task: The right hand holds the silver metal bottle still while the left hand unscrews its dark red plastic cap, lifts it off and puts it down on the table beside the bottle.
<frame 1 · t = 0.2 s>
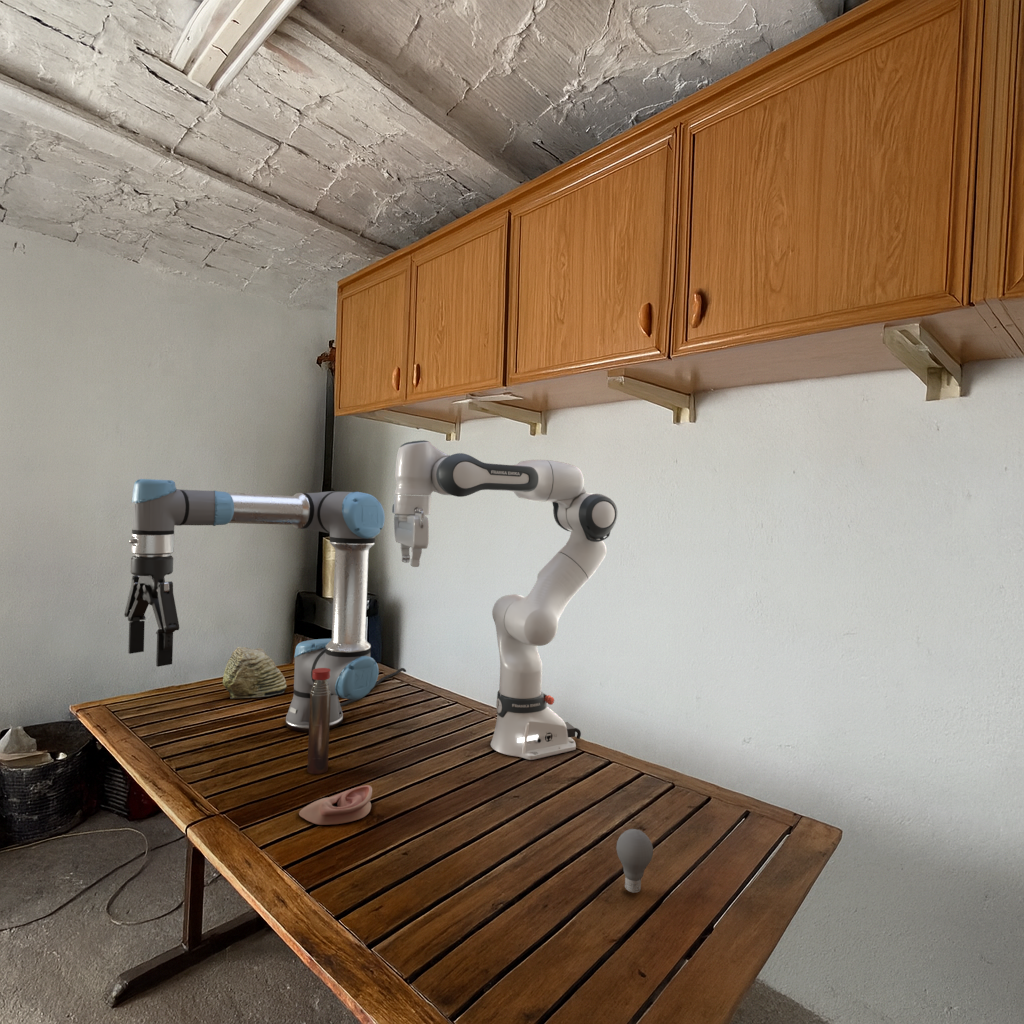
left hand: (149, 658, 129), 29 cm above the table, tool pointing down, fingers open, 13 cm apart
right hand: (410, 564, 153), 48 cm above the table, tool pointing down, fingers open, 8 cm apart
fossil: (254, 694, 198), on the table
anatomical model: (335, 812, 127), on the table
light bulb: (632, 891, 106), on the table
cap: (321, 671, 146), point 23 cm above the table, screwed on, not yet turned
bottle: (317, 769, 147), on the table
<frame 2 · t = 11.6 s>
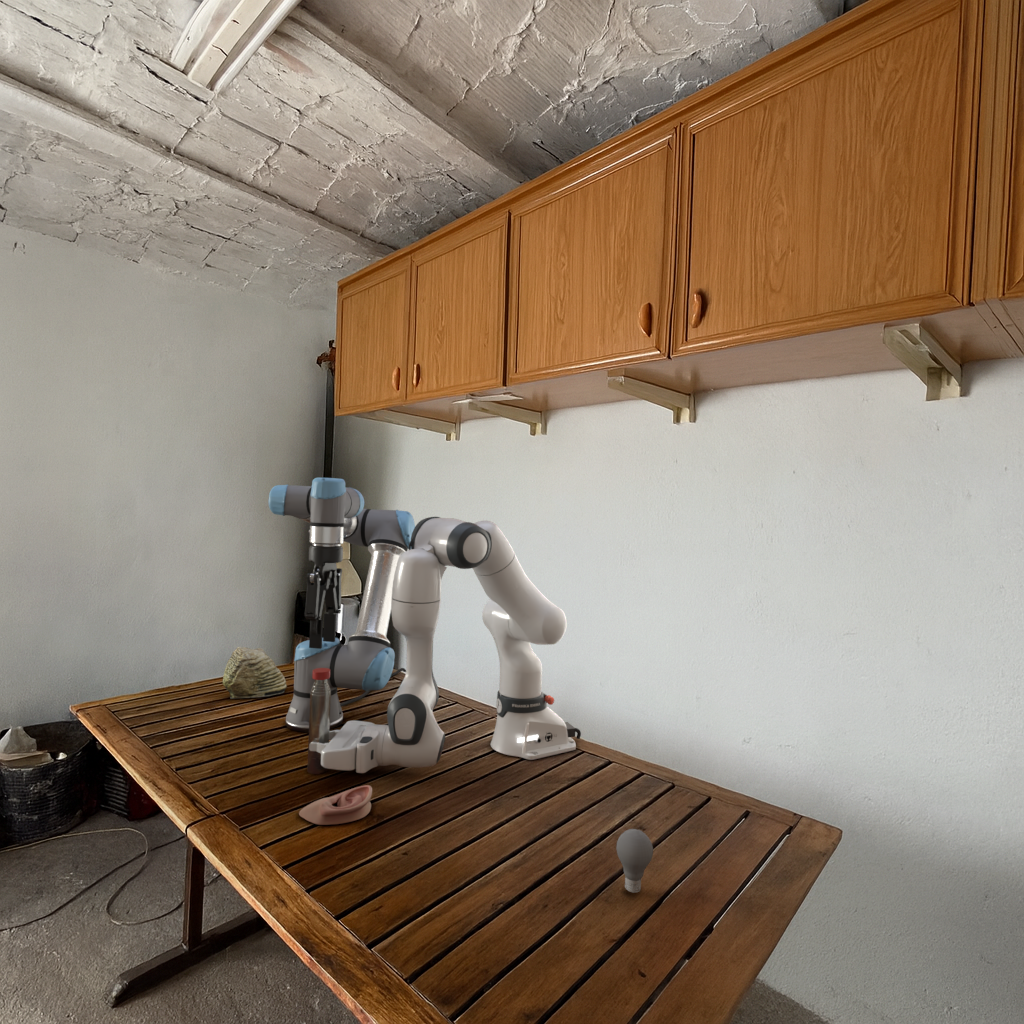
left hand: (322, 644, 146), 29 cm above the table, tool pointing down, fingers open, 6 cm apart
right hand: (314, 740, 147), 7 cm above the table, tool horizontal, fingers closed on bottle, 4 cm apart
bottle: (317, 769, 147), on the table, touching right hand
everything else where it was.
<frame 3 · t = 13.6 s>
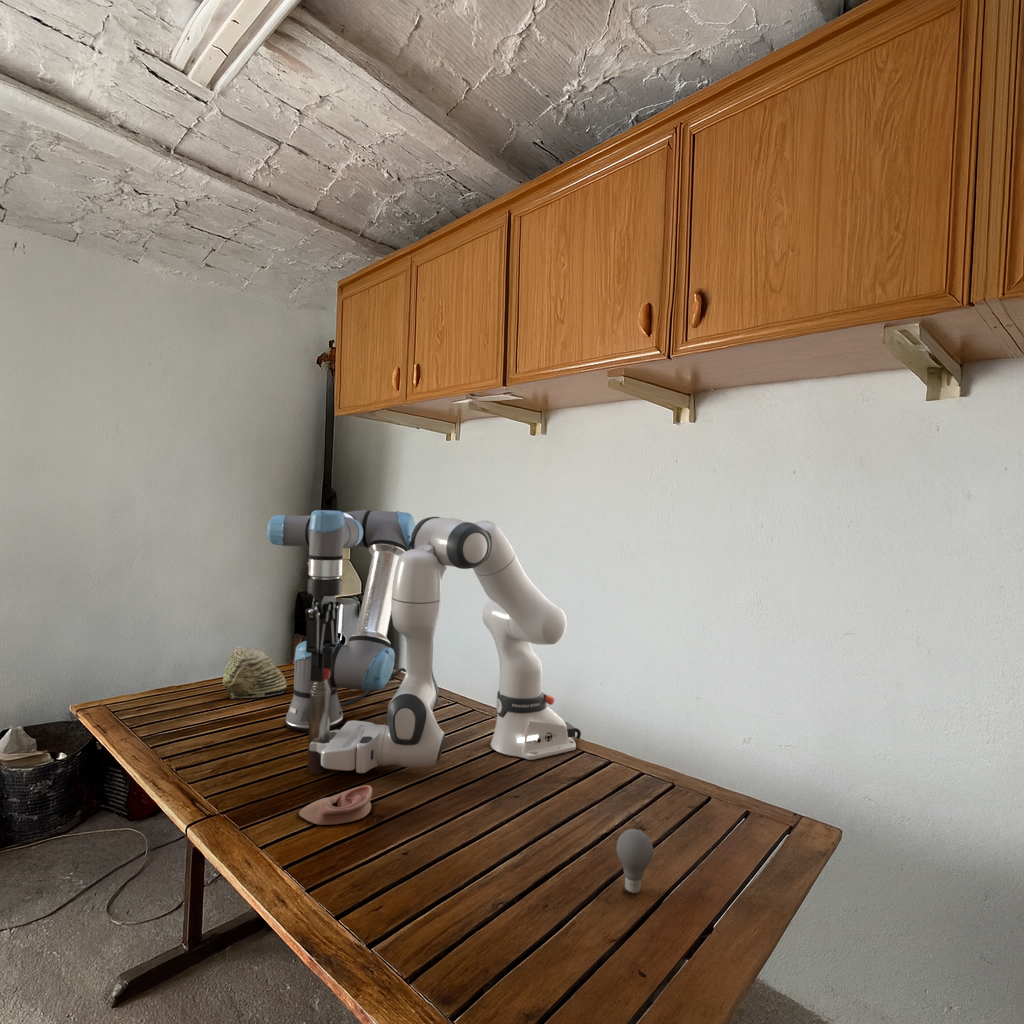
left hand: (321, 677, 146), 21 cm above the table, tool pointing down, fingers closed on cap, 4 cm apart
right hand: (314, 740, 147), 7 cm above the table, tool horizontal, fingers closed on bottle, 4 cm apart
cap: (321, 671, 146), point 23 cm above the table, screwed on, not yet turned, touching left hand
bottle: (317, 769, 147), on the table, touching right hand
everything else where it was.
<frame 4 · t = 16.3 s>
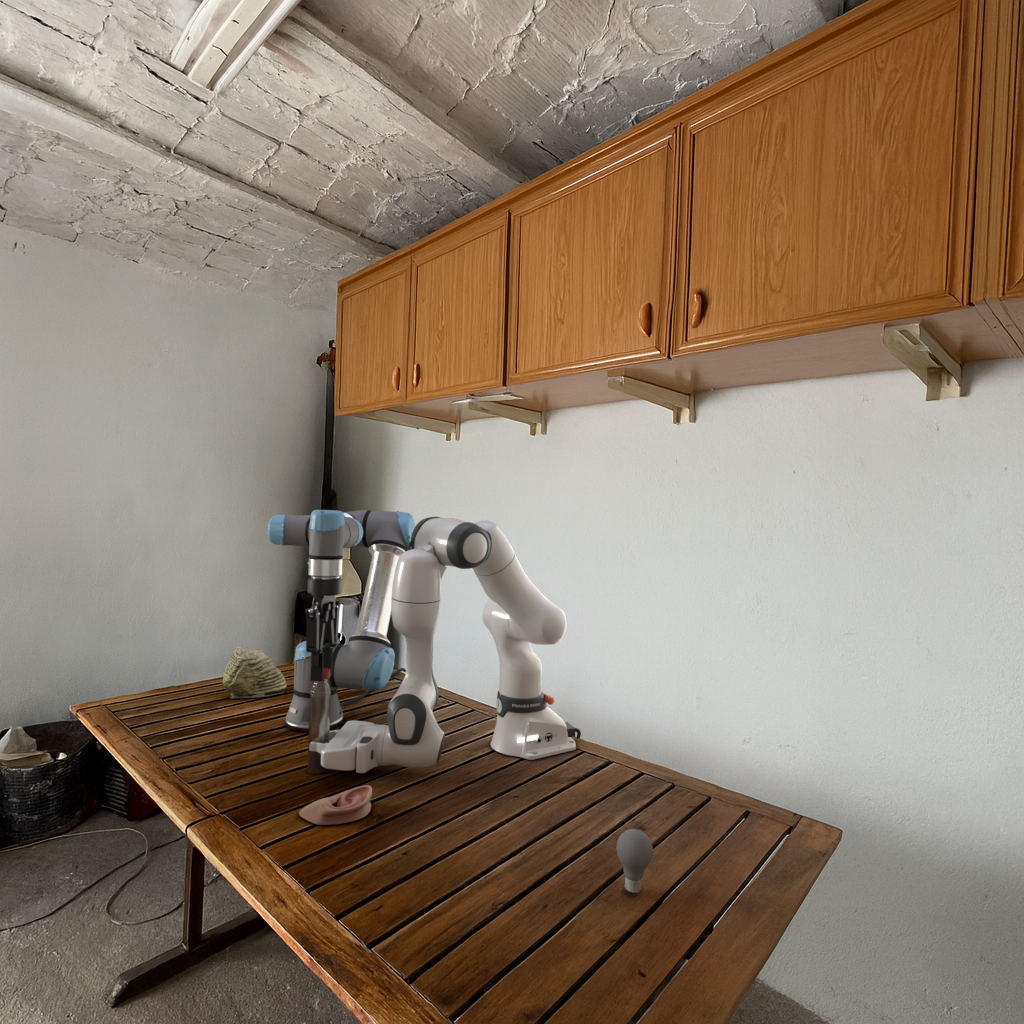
left hand: (321, 677, 146), 22 cm above the table, tool pointing down, fingers closed on cap, 4 cm apart
right hand: (314, 740, 147), 7 cm above the table, tool horizontal, fingers closed on bottle, 4 cm apart
cap: (321, 671, 146), point 23 cm above the table, turned 80° so far, risen 0.1 cm, still on its thread, touching left hand
bottle: (317, 769, 147), on the table, touching right hand
everything else where it was.
when the left hand's fingers open (2 cm above the table, at t = 33.3 s): cap drops 2 cm, point 1 cm above the table.
when the right hand's fingers open (7 cm above the table, at t = 34.6 s): bottle stays where it is, on the table.
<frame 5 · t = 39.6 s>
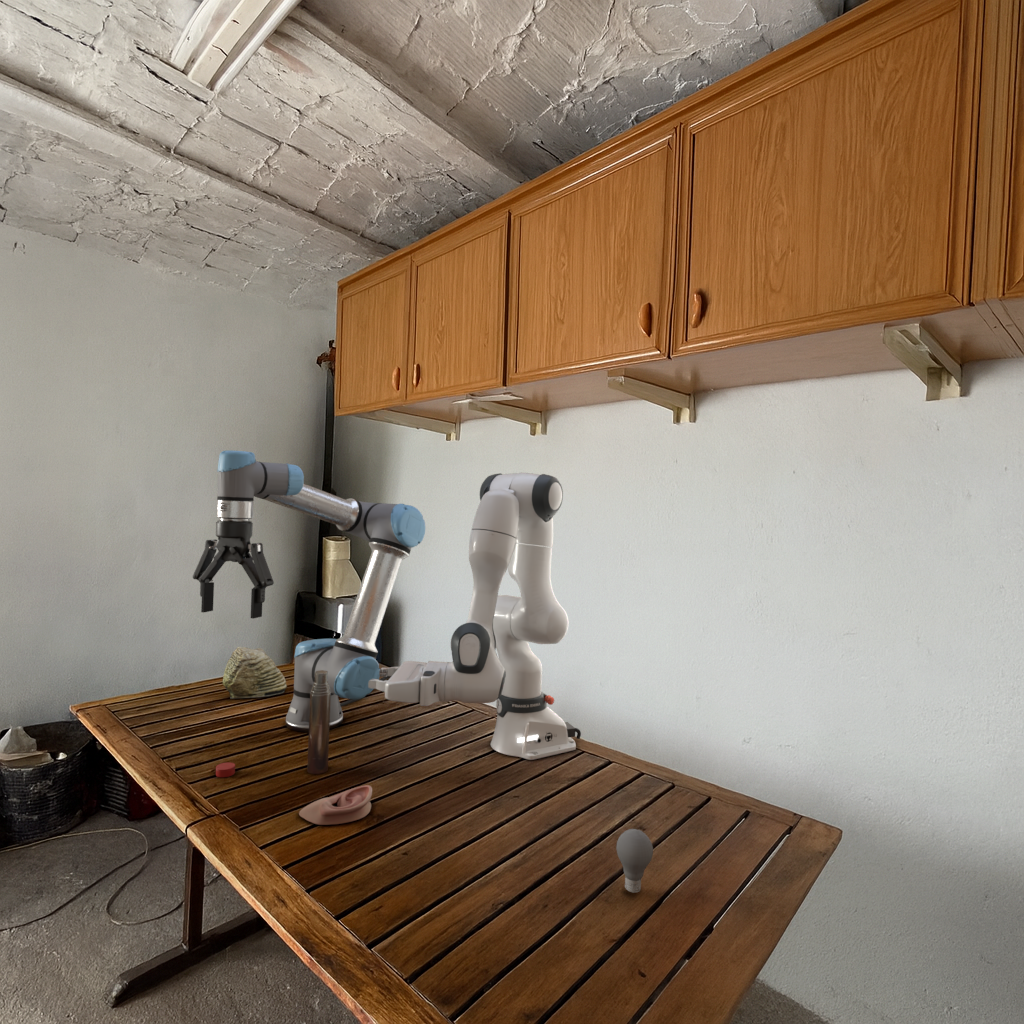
left hand: (231, 614, 142), 36 cm above the table, tool pointing down, fingers open, 13 cm apart
right hand: (374, 677, 146), 22 cm above the table, tool horizontal, fingers open, 8 cm apart
cap: (225, 767, 143), point 1 cm above the table, off its thread
bottle: (317, 769, 147), on the table
everything else where it was.
at the end: cap came off its thread; cap point 1.4 cm above the table; the left hand is holding nothing; the right hand is holding nothing; bottle tilted 0°; bottle moved 0.0 cm from its start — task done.
